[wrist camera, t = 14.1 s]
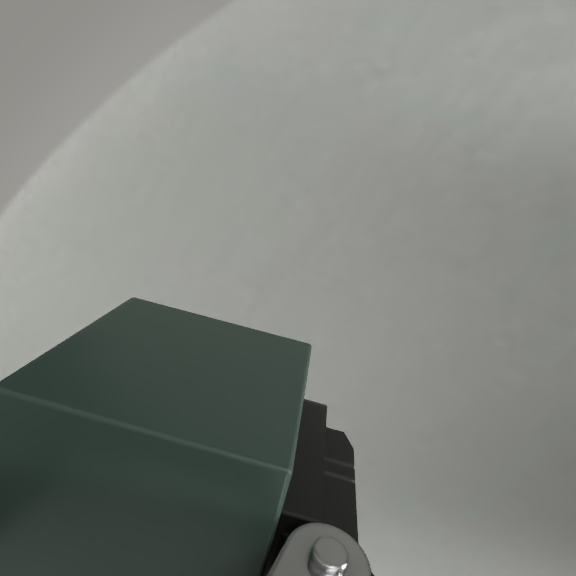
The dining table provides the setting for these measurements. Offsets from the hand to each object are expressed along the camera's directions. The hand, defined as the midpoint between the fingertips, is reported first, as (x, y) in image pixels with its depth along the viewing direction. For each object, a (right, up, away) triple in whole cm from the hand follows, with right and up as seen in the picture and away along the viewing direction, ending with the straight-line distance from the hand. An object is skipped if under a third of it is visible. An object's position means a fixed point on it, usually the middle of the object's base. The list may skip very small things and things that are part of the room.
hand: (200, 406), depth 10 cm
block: (0, 0, 0) cm, 0 cm away
